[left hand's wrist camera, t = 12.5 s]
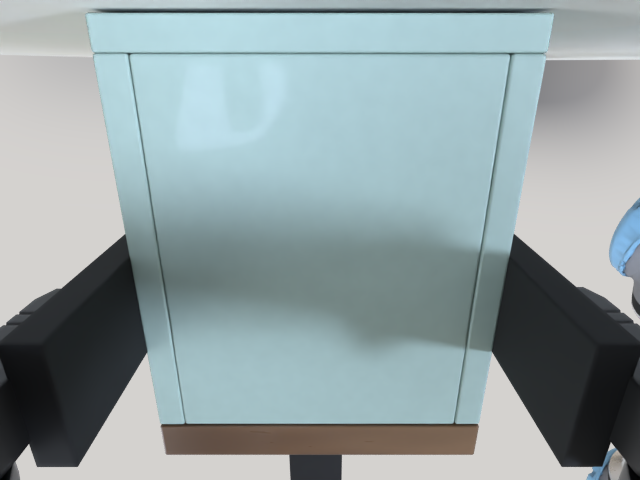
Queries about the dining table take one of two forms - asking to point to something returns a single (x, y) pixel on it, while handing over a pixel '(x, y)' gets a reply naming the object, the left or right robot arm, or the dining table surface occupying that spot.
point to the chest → (319, 205)
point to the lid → (319, 439)
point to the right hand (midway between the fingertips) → (316, 360)
